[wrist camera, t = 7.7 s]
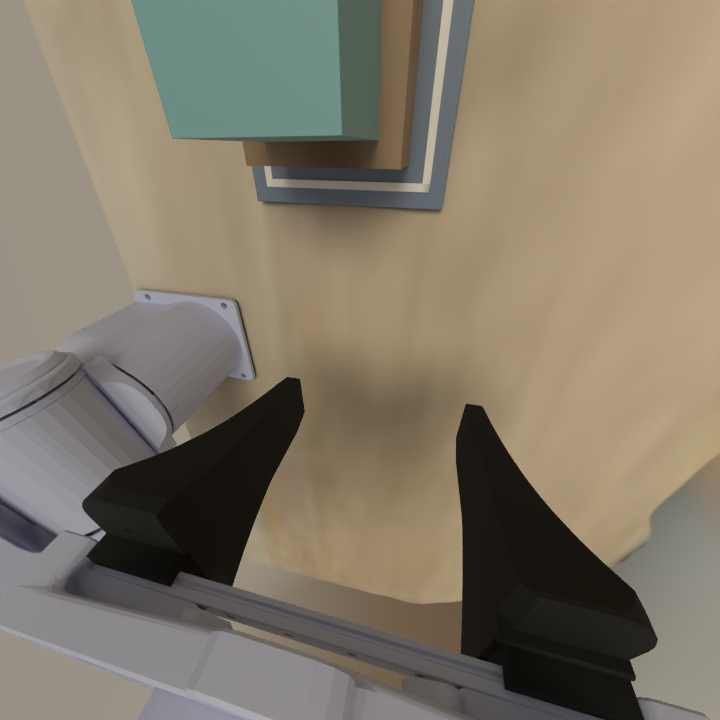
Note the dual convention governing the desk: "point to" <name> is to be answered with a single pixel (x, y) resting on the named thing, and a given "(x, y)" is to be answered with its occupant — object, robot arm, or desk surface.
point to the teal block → (265, 68)
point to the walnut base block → (394, 108)
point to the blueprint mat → (429, 132)
